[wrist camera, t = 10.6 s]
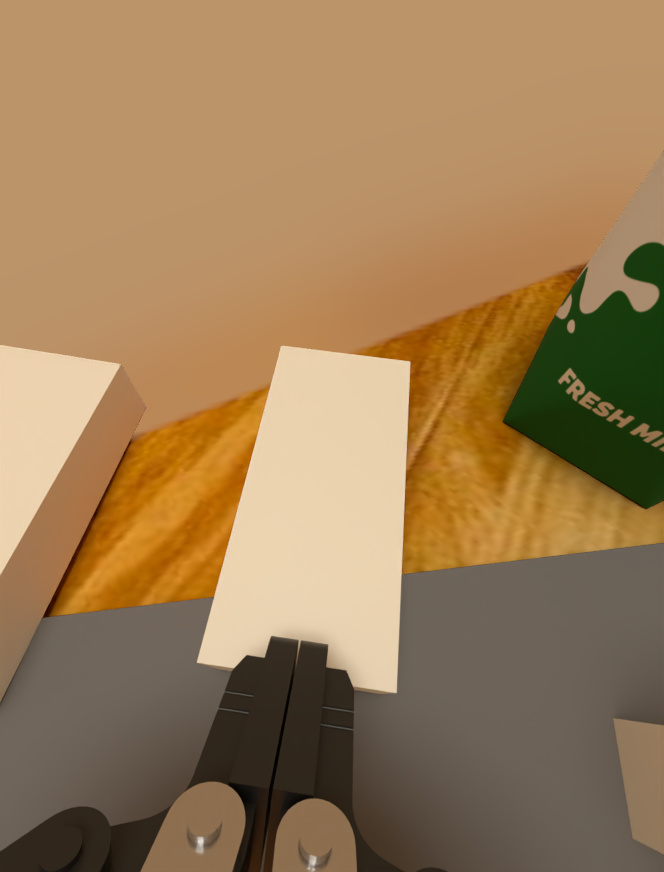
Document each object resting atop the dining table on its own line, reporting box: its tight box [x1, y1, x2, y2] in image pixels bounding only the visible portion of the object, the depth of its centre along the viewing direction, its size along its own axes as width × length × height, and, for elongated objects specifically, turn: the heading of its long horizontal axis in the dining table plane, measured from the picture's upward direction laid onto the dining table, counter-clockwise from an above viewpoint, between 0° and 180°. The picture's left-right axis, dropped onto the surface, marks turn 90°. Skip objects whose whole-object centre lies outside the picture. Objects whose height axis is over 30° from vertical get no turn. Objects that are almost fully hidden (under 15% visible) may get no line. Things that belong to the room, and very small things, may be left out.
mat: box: [0, 543, 664, 872], centre depth 13 cm, size 33×11×1 cm, turn 97°
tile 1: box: [197, 346, 410, 694], centre depth 16 cm, size 6×3×12 cm
